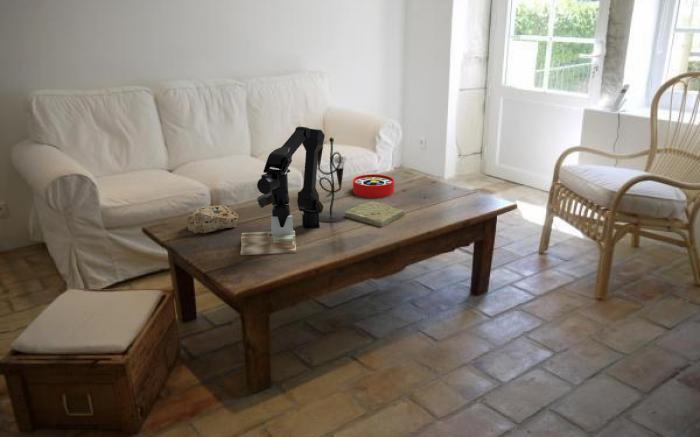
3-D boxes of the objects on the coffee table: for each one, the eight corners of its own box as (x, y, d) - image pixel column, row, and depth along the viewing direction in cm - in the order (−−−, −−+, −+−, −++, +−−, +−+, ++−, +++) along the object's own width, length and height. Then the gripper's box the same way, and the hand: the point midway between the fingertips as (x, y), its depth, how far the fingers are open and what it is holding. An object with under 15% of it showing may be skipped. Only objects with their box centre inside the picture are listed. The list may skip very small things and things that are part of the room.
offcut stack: (294, 243, 215) (294, 234, 214) (295, 248, 211) (294, 239, 210) (270, 245, 214) (270, 236, 213) (270, 249, 211) (269, 240, 209)
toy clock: (374, 172, 291) (403, 180, 277) (373, 183, 293) (402, 191, 279) (344, 179, 278) (373, 188, 264) (344, 191, 280) (373, 200, 266)
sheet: (293, 239, 219) (292, 215, 215) (293, 241, 217) (292, 216, 214) (272, 240, 218) (270, 216, 215) (272, 242, 217) (270, 217, 213)
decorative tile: (381, 228, 234) (381, 220, 233) (344, 217, 246) (343, 209, 245) (407, 216, 247) (407, 208, 246) (370, 206, 259) (370, 199, 258)
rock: (227, 218, 247) (230, 198, 242) (241, 236, 237) (245, 215, 232) (180, 224, 235) (183, 202, 230) (193, 242, 225) (196, 220, 220)
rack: (295, 237, 223) (294, 228, 222) (296, 252, 210) (295, 242, 209) (243, 240, 221) (242, 230, 220) (240, 255, 208) (239, 244, 207)
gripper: (258, 180, 218) (261, 218, 224) (256, 195, 201) (259, 236, 206) (288, 179, 219) (289, 217, 225) (288, 194, 202) (290, 235, 207)
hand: (282, 226), depth 216 cm, fingers closed on sheet, 2 cm apart
